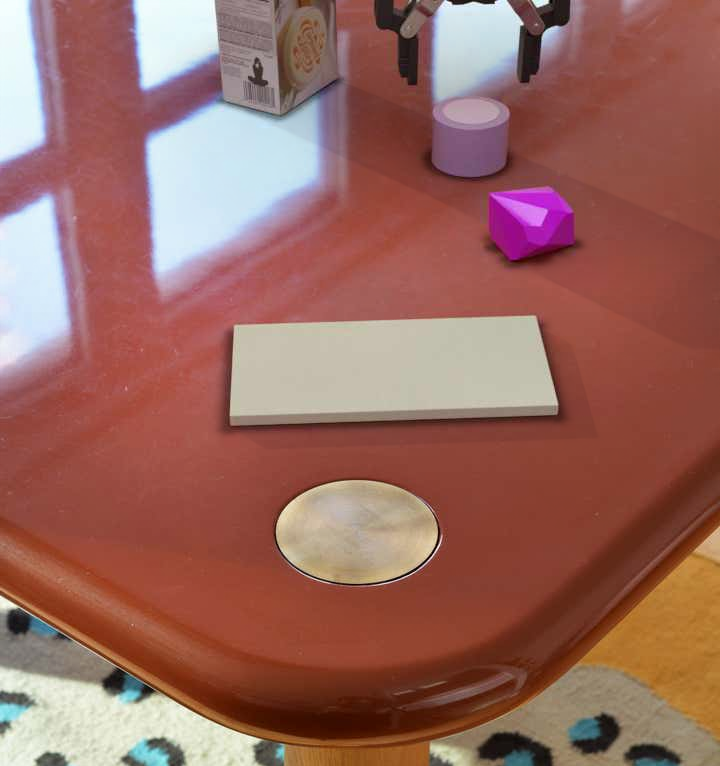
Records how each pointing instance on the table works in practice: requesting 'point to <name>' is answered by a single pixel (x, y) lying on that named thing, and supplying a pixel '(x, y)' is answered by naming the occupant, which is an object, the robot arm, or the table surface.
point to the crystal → (530, 221)
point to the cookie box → (276, 51)
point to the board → (389, 371)
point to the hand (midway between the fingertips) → (467, 80)
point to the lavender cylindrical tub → (470, 136)
